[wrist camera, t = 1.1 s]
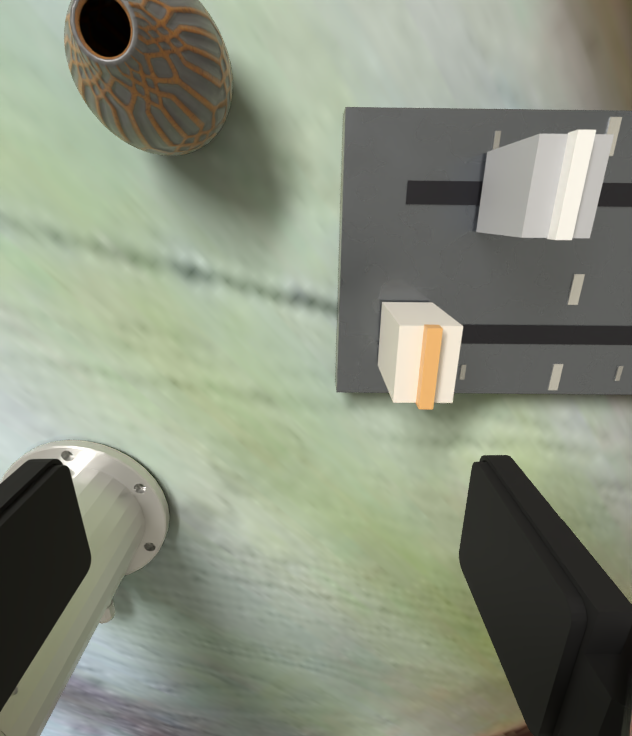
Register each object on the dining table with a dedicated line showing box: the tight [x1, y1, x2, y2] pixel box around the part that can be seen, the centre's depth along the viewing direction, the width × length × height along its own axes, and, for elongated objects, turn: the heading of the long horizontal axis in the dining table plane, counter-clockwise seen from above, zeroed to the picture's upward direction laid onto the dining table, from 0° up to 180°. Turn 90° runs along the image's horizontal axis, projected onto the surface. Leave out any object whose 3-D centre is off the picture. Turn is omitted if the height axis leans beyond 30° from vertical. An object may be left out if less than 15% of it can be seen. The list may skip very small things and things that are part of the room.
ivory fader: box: [378, 302, 463, 409], centre depth 22 cm, size 4×3×6 cm
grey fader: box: [476, 130, 614, 240], centre depth 20 cm, size 4×3×6 cm
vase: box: [64, 0, 233, 156], centre depth 19 cm, size 7×7×9 cm
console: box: [335, 107, 632, 394], centre depth 25 cm, size 16×24×2 cm, turn 89°
